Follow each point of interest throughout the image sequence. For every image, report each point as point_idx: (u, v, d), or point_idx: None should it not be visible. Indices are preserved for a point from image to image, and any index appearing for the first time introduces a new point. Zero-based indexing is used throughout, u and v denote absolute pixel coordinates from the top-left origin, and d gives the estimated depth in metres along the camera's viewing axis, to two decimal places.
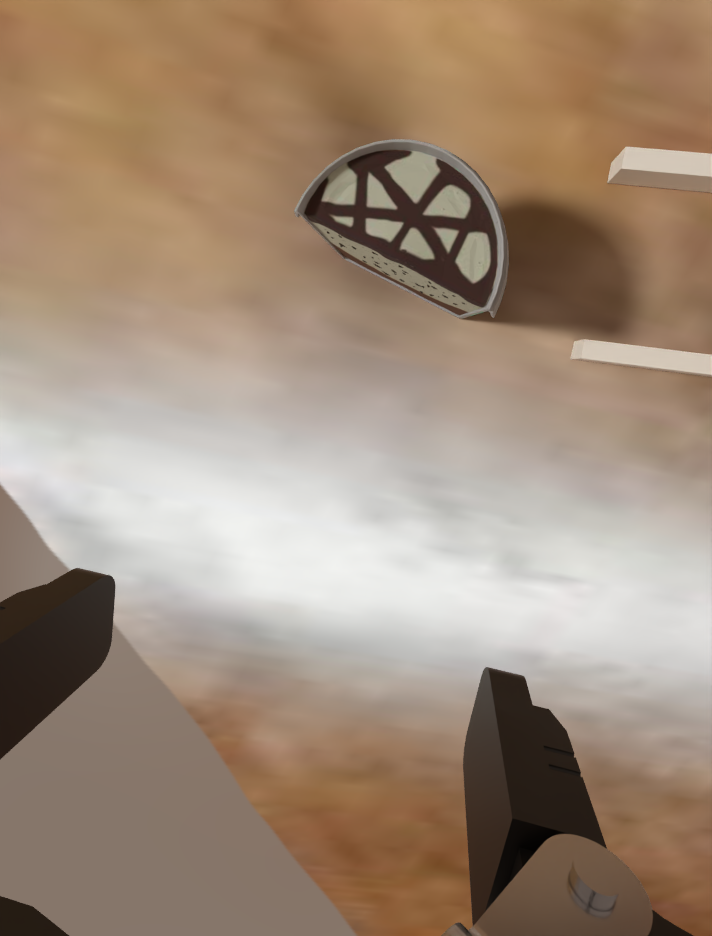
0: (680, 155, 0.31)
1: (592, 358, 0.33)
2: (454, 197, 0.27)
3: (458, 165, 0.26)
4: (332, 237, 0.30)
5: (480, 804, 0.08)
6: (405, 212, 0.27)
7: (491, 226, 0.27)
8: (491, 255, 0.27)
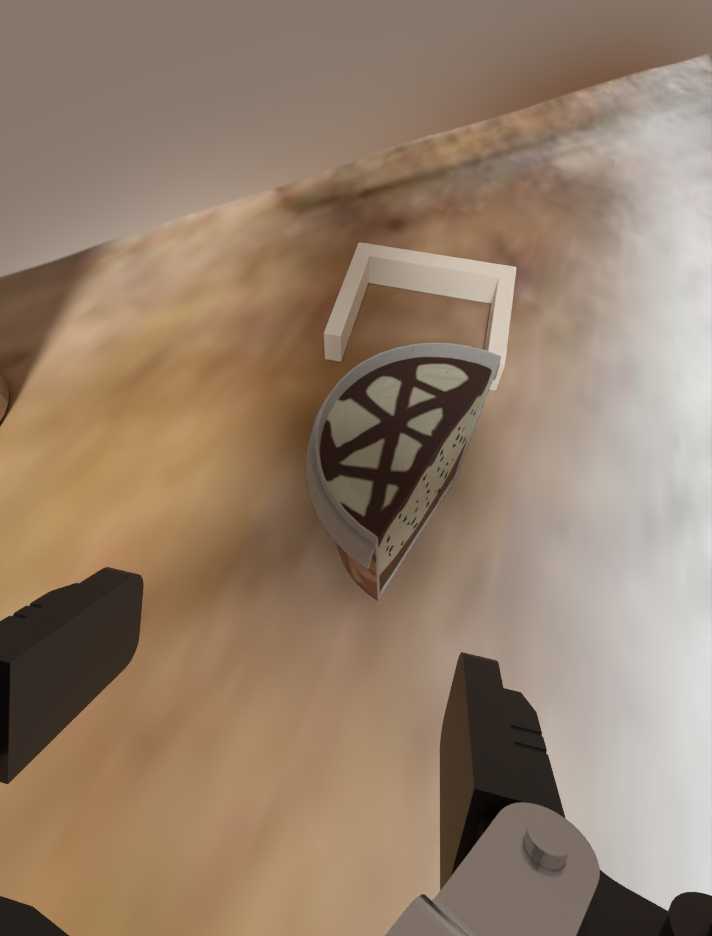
0: (338, 303, 0.38)
1: (504, 358, 0.35)
2: (378, 389, 0.25)
3: (351, 377, 0.25)
4: (387, 546, 0.23)
5: (451, 781, 0.09)
6: (389, 431, 0.23)
7: (412, 360, 0.26)
8: (440, 362, 0.26)
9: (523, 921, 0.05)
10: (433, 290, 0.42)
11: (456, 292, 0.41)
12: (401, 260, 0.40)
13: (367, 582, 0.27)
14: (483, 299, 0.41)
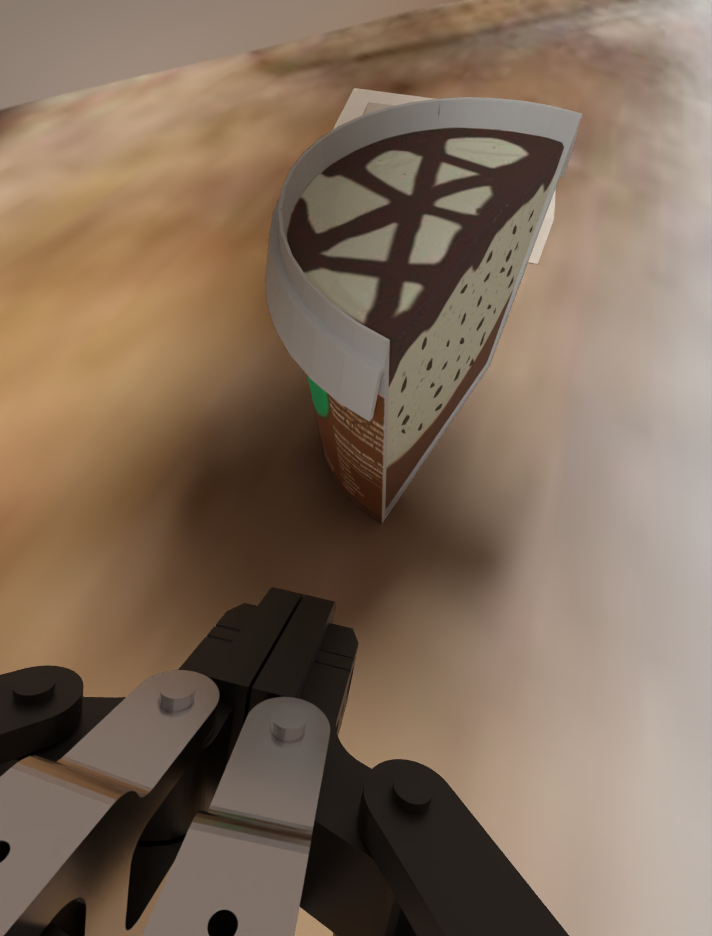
0: None
1: (552, 210, 0.26)
2: (386, 165, 0.15)
3: (342, 141, 0.15)
4: (401, 407, 0.14)
5: None
6: (403, 213, 0.14)
7: (437, 131, 0.16)
8: (482, 136, 0.16)
9: (283, 788, 0.06)
10: None
11: None
12: None
13: (367, 486, 0.17)
14: None
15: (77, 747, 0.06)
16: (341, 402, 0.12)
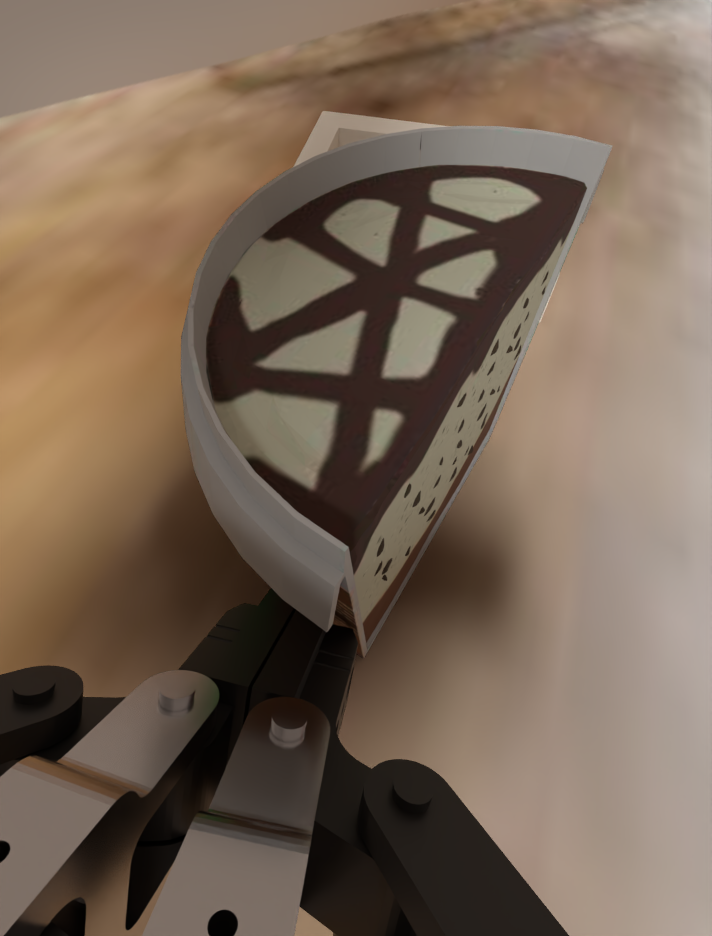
0: None
1: None
2: (351, 220, 0.11)
3: (290, 191, 0.11)
4: (380, 564, 0.10)
5: None
6: (375, 295, 0.10)
7: (419, 171, 0.12)
8: (479, 175, 0.12)
9: (283, 787, 0.06)
10: None
11: None
12: (387, 133, 0.26)
13: None
14: None
15: (76, 747, 0.06)
16: (285, 600, 0.08)
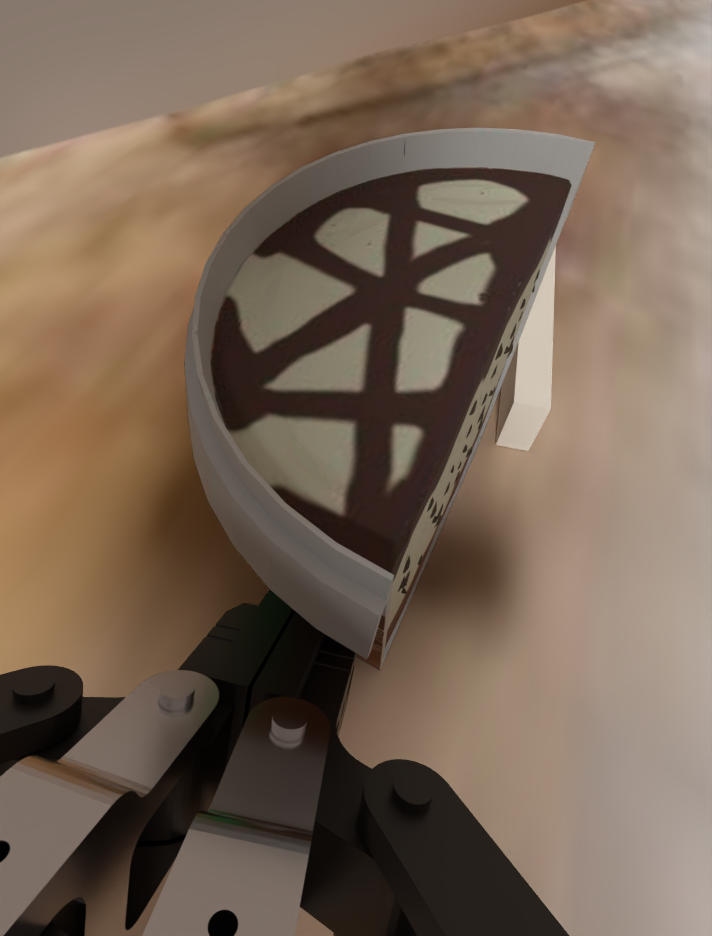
0: None
1: (548, 391, 0.18)
2: (342, 230, 0.11)
3: (278, 204, 0.11)
4: (403, 580, 0.10)
5: None
6: (377, 307, 0.10)
7: (404, 176, 0.12)
8: (464, 177, 0.12)
9: (283, 788, 0.06)
10: None
11: None
12: None
13: None
14: None
15: (76, 747, 0.06)
16: (320, 629, 0.08)
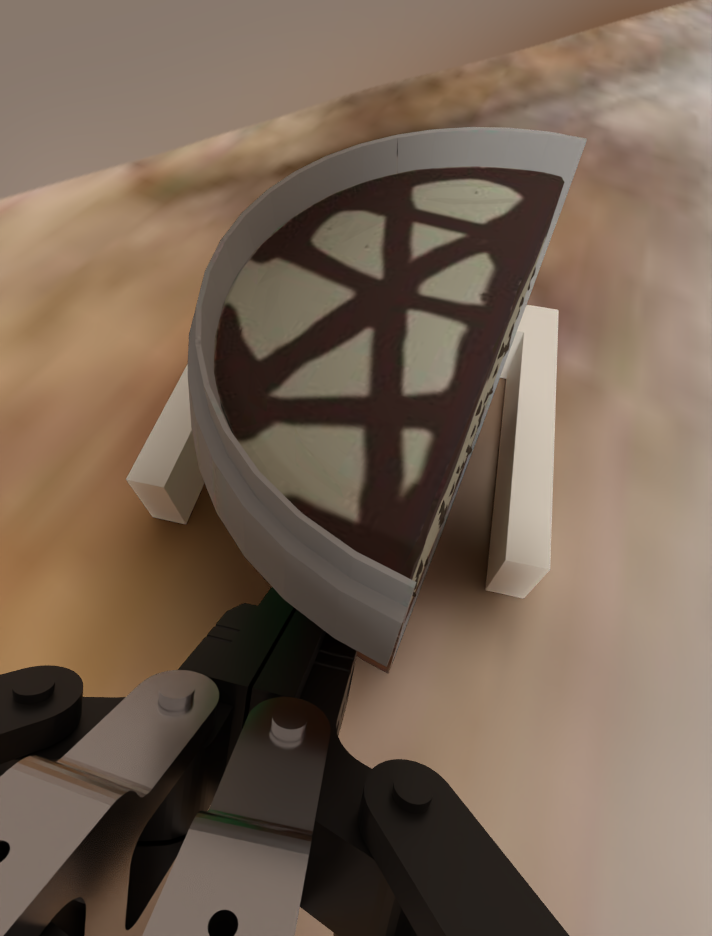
0: (176, 399, 0.17)
1: (548, 545, 0.15)
2: (338, 233, 0.11)
3: (274, 209, 0.11)
4: None
5: None
6: (378, 310, 0.10)
7: (398, 177, 0.12)
8: (457, 177, 0.12)
9: (283, 788, 0.06)
10: None
11: None
12: None
13: None
14: None
15: (75, 747, 0.06)
16: (338, 638, 0.08)
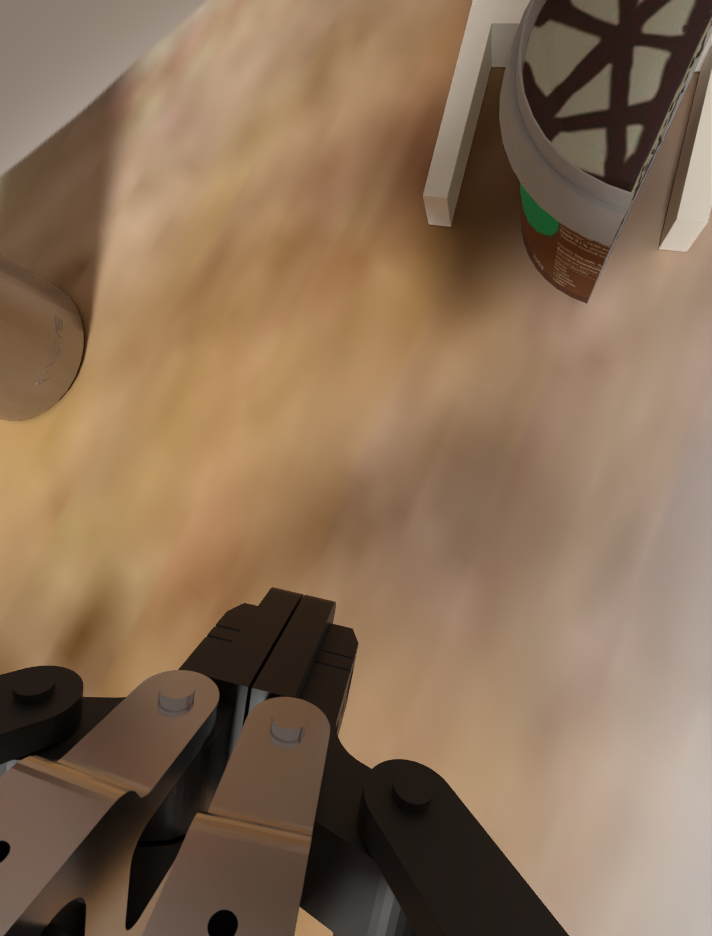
0: (443, 134, 0.25)
1: (709, 205, 0.22)
2: None
3: None
4: None
5: None
6: (615, 49, 0.17)
7: None
8: None
9: (282, 788, 0.06)
10: None
11: None
12: None
13: (581, 280, 0.23)
14: None
15: (76, 747, 0.06)
16: (587, 237, 0.18)
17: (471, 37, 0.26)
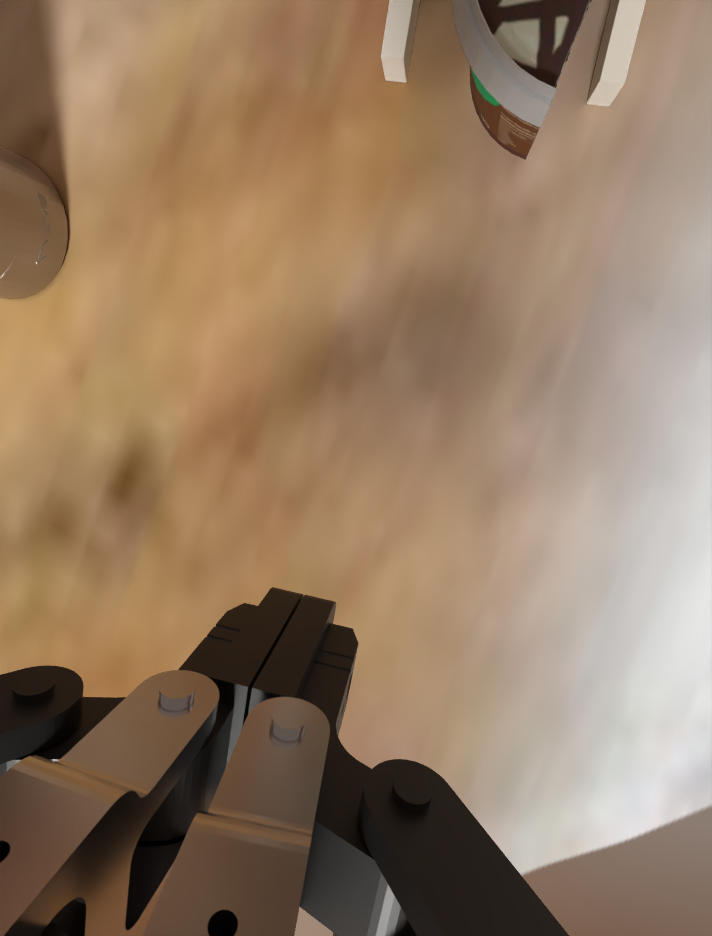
0: None
1: (627, 66, 0.26)
2: None
3: None
4: None
5: None
6: None
7: None
8: None
9: (282, 787, 0.06)
10: None
11: None
12: None
13: (520, 142, 0.27)
14: None
15: (76, 748, 0.06)
16: (523, 119, 0.22)
17: None
